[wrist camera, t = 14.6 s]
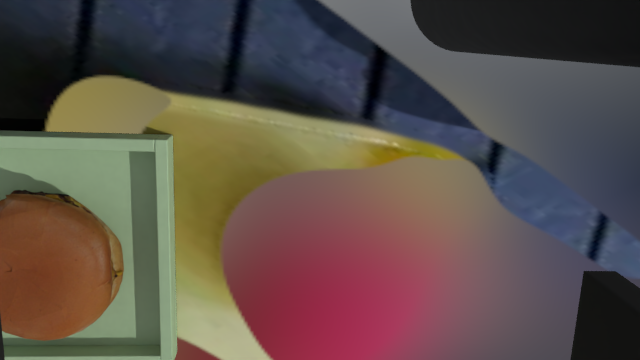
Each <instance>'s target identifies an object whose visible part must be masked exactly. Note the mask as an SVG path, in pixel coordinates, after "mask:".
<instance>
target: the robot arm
mask: <svg viewBox="0 0 640 360" xmlns="http://www.w3.org/2000/svg"><path fill="white" fill-rule="evenodd" d="M0 360H5V357H4V346H3V336H2V325H1V315H0ZM571 360H640V288H638V287H637V286H636V285H634V284H633V283H631V282H630V281H629V280H627V279H626V278H624V277H623V276H621V275H620V274H618V273H617V272H616V271H584V274H583V281H582V287H581V294H580V301H579V307H578V314H577V322H576V327H575V334H574V341H573V348H572V355H571Z"/></svg>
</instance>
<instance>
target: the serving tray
mask: <svg viewBox="0 0 640 360" xmlns="http://www.w3.org/2000/svg"><path fill="white" fill-rule="evenodd" d="M14 190H21V191H22V190H27V191H30V192H41V191H43V192H44V193H51V194H67V195H69V196H71V197H72V198H74V199H75V200H77V201H78V202H79V203H81V204H83V205H84V206H86V207H87V208H88V209H90V210H91V211H92V212H93V213H94V214H95V215H97V216H98V217H99V218H100V219H101V220H102V221H103V222H104V223H105V224H106V225H107V226H108V227H109V228H110V229H111V230H112V232H113V233H114V234H115V235H116V237H117V238H118V239H119V241H120V243H121V246H122V253H123V263H124V272H123V278H122V282H121V285H120V288H119V291H118V293H117V295H116V297H115V299H114V300H113V302H112V303H111V304H110V305H109V306H108V308H107V309H106V310H105V311H104V313H103V314H102V315H101V317H100V318H98V319H97V320H96V321H95V322H94V323H93V324H91V325H90V326H88V327H87V328H85V329H84V330H82V331H80V332H78V333H75V334H73V335H70V336H68V337H66V338H62V339H56V340H47V341H42V340H33V339H25V338H22V337H18V336H15V335H12V334H8V333H5V332H3V331H2V336H3V346H4V357H5V360H174V359H175V356H176V353H177V319H176V270H175V221H174V173H173V135H162V134H122V133H119V134H118V133H81V132H41V131H0V201H1V200H3V199H5V198H6V195H9V194H11V193H12V192H13V191H14Z"/></svg>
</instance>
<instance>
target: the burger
mask: <svg viewBox="0 0 640 360" xmlns="http://www.w3.org/2000/svg"><path fill="white" fill-rule="evenodd" d="M123 272H124V263H123V253H122V246H121V243H120V241H119V239H118V238H117V237H116V235H115V234H114V233H113V232H112V230H111V229H110V228H109V227H108V226H107V225H106V224H105V223H104V222H103V221H102V220H101V219H100V218H99V217H98V216H97V215H95V214H94V213H93V212H92V211H91V210H90V209H88V208H87V207H86V206H84V205H83V204H81V203H79V202H78V201H77V200H75V199H74V198H72V197H71V196H69V195H67V194H51V193H44V192H43V191H41V192H30V191H27V190H22V191H21V190H14V191H13V192H12V193H11V194H9V195H6V198H5V199H3V200H1V201H0V315H1V325H2V331H3V332H5V333H8V334H12V335H15V336H18V337H22V338H25V339H33V340H42V341H47V340H56V339H62V338H66V337H68V336H70V335H73V334H75V333H78V332H80V331H82V330H84V329H85V328H87V327H88V326H90V325H91V324H93V323H94V322H95V321H96V320H97V319H98V318H100V317H101V315H102V314H103V313H104V311H105V310H106V309H107V308H108V306H109V305H110V304H111V303H112V302H113V300H114V299H115V297H116V295H117V293H118V291H119V288H120V285H121V282H122V278H123Z"/></svg>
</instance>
